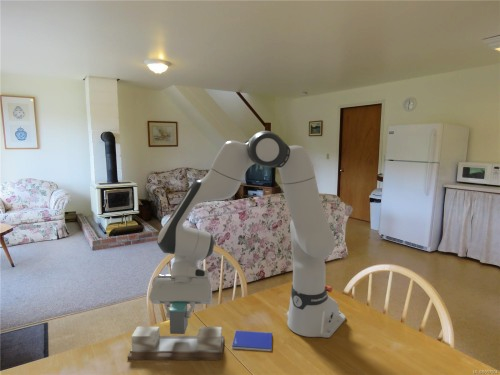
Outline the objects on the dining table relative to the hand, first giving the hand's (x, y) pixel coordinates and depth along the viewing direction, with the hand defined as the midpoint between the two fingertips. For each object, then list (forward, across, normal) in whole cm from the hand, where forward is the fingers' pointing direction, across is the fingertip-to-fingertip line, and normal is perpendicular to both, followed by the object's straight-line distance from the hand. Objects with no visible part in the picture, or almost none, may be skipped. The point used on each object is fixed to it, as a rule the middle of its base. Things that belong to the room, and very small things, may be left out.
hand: (178, 317), depth 99 cm
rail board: (+8, 0, +5) cm, 10 cm away
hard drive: (+6, +24, +8) cm, 26 cm away
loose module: (+3, 0, +4) cm, 4 cm away
